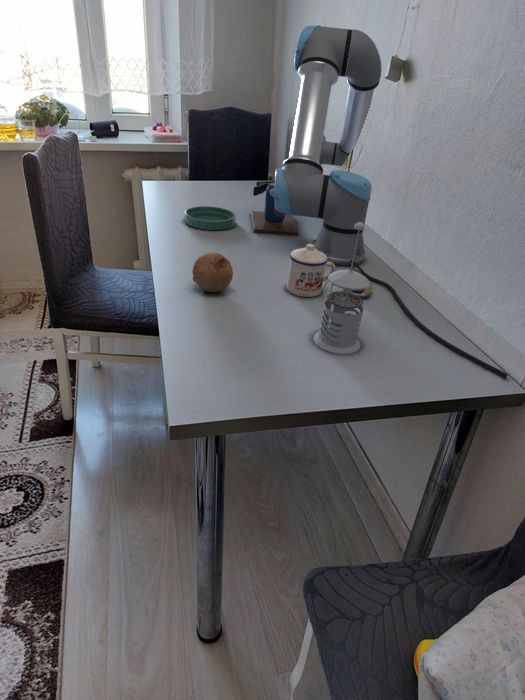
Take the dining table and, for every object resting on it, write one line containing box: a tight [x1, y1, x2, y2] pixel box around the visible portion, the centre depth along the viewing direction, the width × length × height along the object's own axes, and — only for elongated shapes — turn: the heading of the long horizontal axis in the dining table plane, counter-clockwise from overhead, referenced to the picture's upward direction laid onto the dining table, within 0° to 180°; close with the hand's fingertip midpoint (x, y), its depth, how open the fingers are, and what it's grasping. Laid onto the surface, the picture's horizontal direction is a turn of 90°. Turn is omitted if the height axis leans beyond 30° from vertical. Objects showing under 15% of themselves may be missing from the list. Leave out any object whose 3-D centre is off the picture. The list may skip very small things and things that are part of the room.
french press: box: [313, 222, 371, 355], centre depth 97 cm, size 10×12×25 cm
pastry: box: [343, 280, 373, 298], centre depth 125 cm, size 9×7×4 cm
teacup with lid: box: [286, 243, 336, 298], centre depth 121 cm, size 12×9×12 cm
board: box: [250, 210, 299, 237], centre depth 167 cm, size 20×14×1 cm
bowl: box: [184, 205, 236, 231], centre depth 161 cm, size 16×16×3 cm
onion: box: [191, 252, 234, 293], centre depth 117 cm, size 10×9×10 cm
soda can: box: [263, 182, 286, 224], centre depth 163 cm, size 7×7×12 cm
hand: (273, 195), depth 160 cm, fingers open, 13 cm apart
